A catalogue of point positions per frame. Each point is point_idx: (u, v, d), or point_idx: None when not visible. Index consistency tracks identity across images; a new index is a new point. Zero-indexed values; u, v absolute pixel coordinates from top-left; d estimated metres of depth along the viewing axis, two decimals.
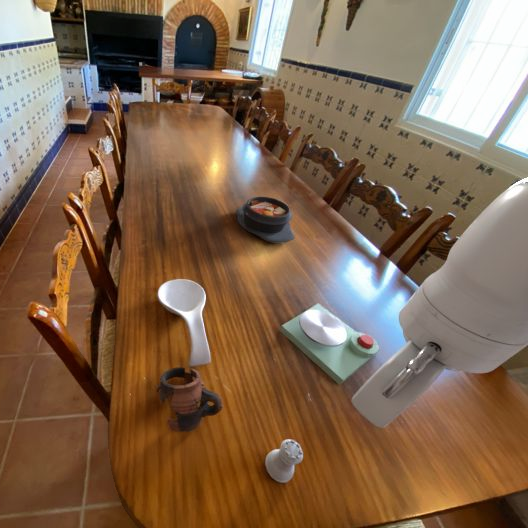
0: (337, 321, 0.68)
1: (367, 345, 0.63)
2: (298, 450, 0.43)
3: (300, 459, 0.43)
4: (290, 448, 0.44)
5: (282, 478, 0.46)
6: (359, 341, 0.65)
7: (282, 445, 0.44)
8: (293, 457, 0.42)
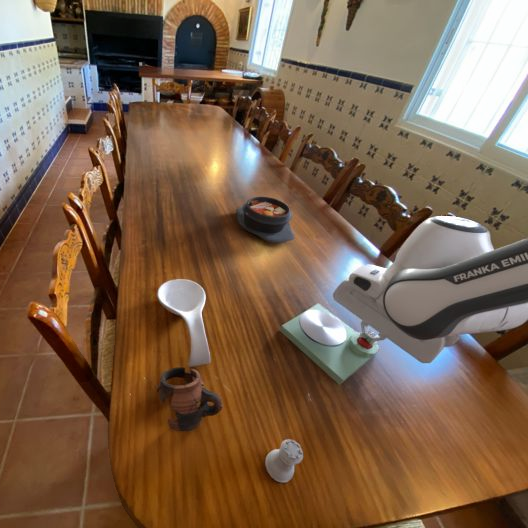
0: (337, 321, 0.68)
1: (367, 345, 0.63)
2: (298, 450, 0.43)
3: (300, 459, 0.43)
4: (290, 448, 0.44)
5: (282, 478, 0.46)
6: (359, 341, 0.65)
7: (282, 445, 0.44)
8: (293, 457, 0.42)
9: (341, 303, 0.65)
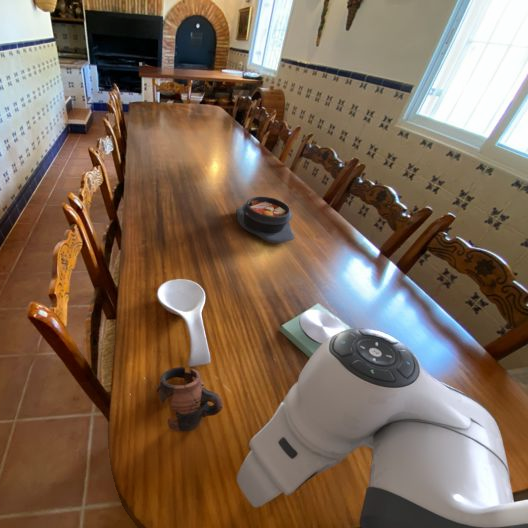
0: (337, 321, 0.68)
1: None
2: None
3: None
4: None
5: None
6: None
7: None
8: None
9: None
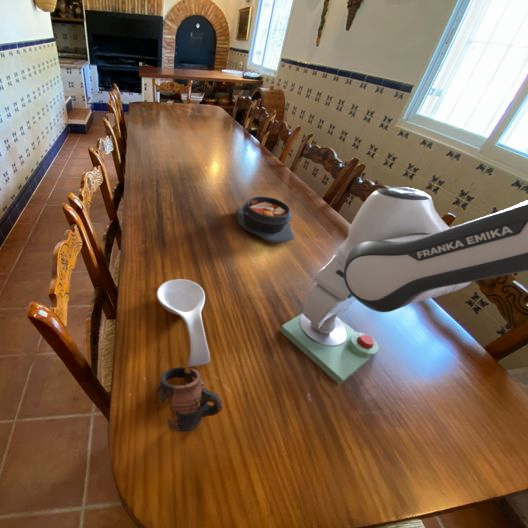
0: (337, 321, 0.68)
1: (367, 345, 0.63)
2: None
3: None
4: None
5: (327, 328, 0.64)
6: (359, 341, 0.65)
7: None
8: None
9: (324, 320, 0.57)
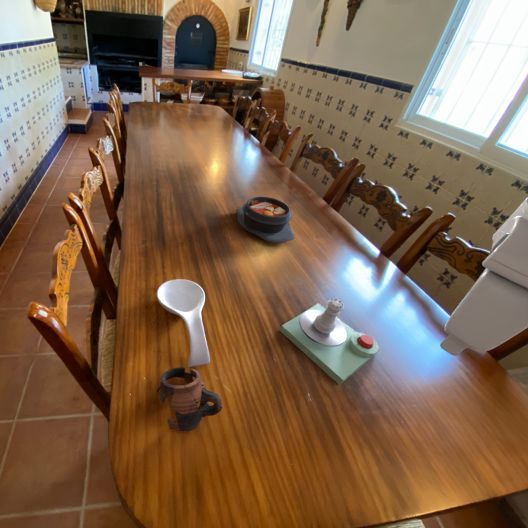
0: (337, 321, 0.68)
1: (367, 345, 0.63)
2: (340, 303, 0.62)
3: (342, 308, 0.61)
4: (334, 302, 0.62)
5: (327, 328, 0.64)
6: (359, 341, 0.65)
7: (328, 301, 0.63)
8: (337, 306, 0.61)
9: None
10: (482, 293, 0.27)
